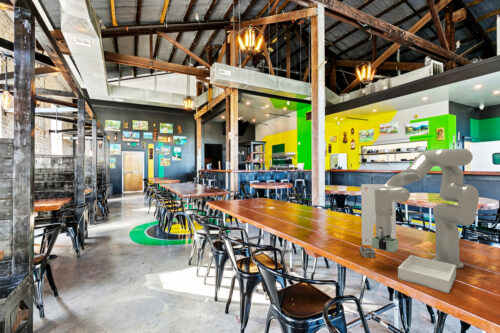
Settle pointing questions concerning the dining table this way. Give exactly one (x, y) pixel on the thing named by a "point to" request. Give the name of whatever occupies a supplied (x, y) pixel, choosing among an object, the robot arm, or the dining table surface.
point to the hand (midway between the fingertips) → (385, 247)
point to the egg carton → (367, 252)
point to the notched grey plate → (372, 213)
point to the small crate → (390, 244)
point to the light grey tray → (428, 273)
